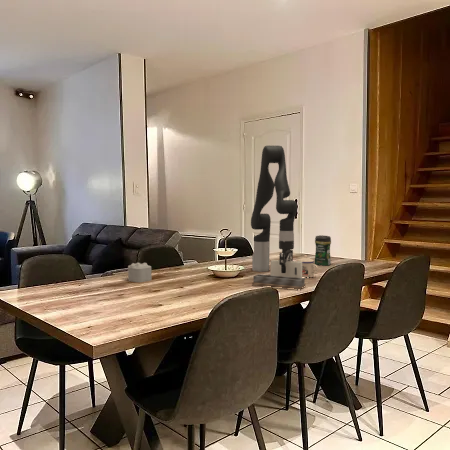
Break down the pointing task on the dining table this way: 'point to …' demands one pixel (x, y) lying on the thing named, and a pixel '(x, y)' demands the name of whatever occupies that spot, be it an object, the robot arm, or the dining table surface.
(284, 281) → the door track
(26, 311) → the dining table surface
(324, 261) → the coffee jar
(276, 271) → the door panel
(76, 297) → the dining table surface
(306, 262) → the teacup with lid
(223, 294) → the dining table surface
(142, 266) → the lumpy-topped squat cylinder
